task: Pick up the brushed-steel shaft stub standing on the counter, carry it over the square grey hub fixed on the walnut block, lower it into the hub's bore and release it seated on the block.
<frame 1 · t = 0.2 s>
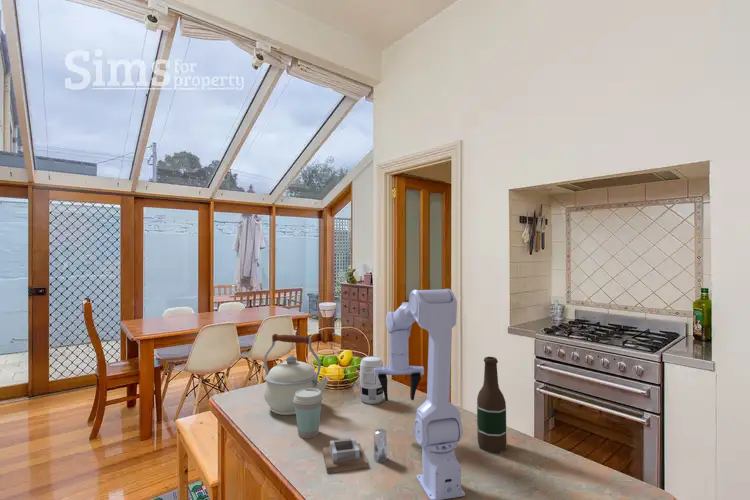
hand: (399, 399, 113), 10 cm above the kitchen island, fingers open, 7 cm apart
beer bottle: (491, 447, 105), on the kitchen island
coffee cup: (308, 434, 113), on the kitchen island
supplement can: (371, 400, 139), on the kitchen island
shaft: (380, 459, 98), on the kitchen island
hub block: (344, 459, 98), on the kitchen island
kettle: (295, 408, 133), on the kitchen island
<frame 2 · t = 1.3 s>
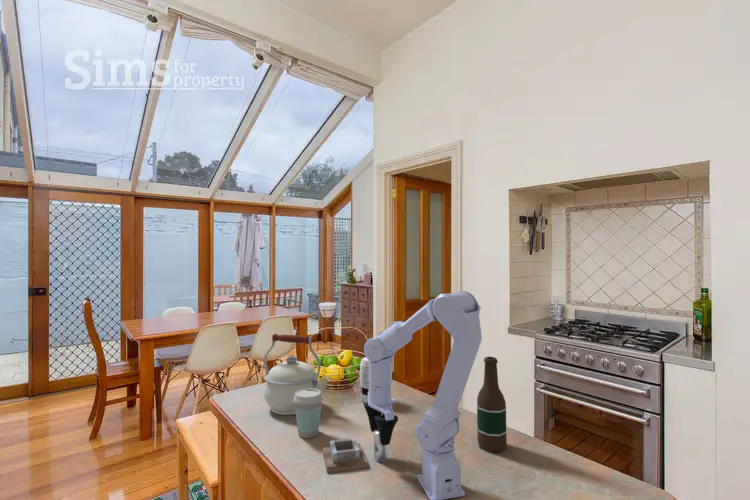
hand: (380, 437, 99), 5 cm above the kitchen island, fingers open, 7 cm apart
nothing on the kitchen island moved.
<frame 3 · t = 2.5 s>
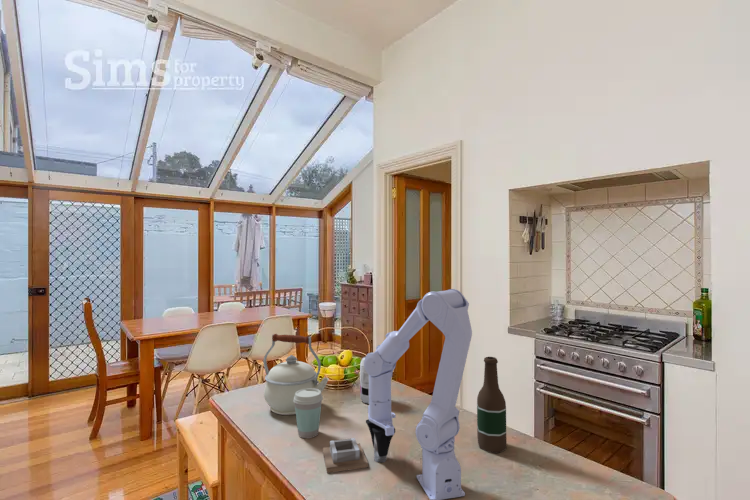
hand: (380, 451, 98), 2 cm above the kitchen island, fingers closed on shaft, 3 cm apart
shaft: (380, 459, 98), on the kitchen island, touching gripper
everything else where it was.
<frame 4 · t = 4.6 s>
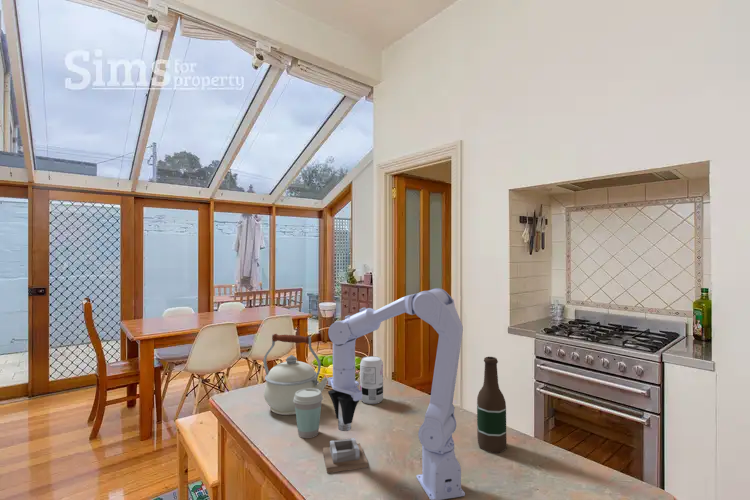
hand: (344, 420, 98), 10 cm above the kitchen island, fingers closed on shaft, 3 cm apart
shaft: (344, 428, 98), point 8 cm above the kitchen island, touching gripper
everything else where it was.
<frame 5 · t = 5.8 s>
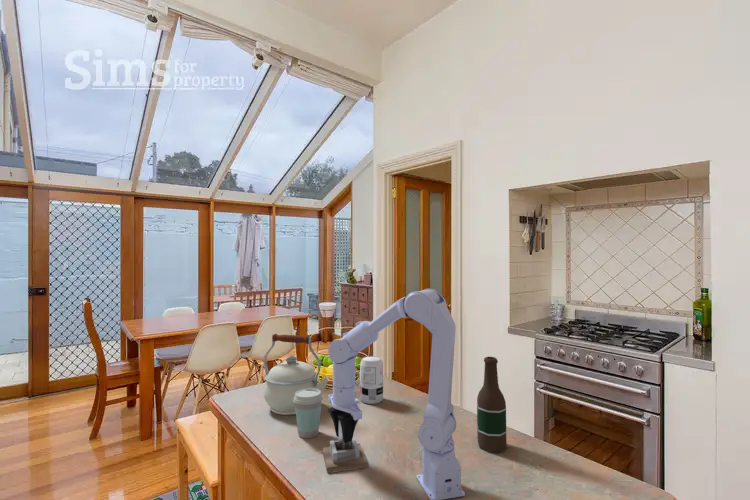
hand: (344, 438, 98), 5 cm above the kitchen island, fingers closed on shaft, 3 cm apart
shaft: (344, 446, 98), point 3 cm above the kitchen island, touching gripper
everything else where it was.
when the fingers open (4 cm above the kitchen island, at t = 6.9 s): shaft stays where it is, resting on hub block.
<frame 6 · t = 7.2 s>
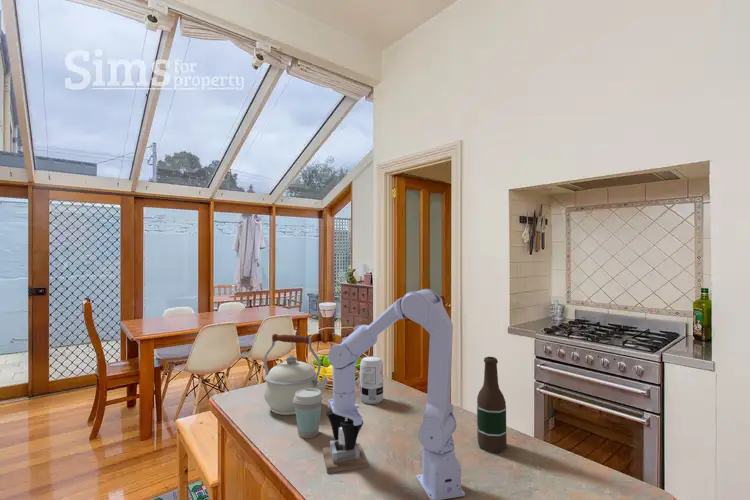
hand: (344, 443, 98), 4 cm above the kitchen island, fingers open, 6 cm apart
shaft: (344, 454, 98), point 1 cm above the kitchen island, touching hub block
everything else where it was.
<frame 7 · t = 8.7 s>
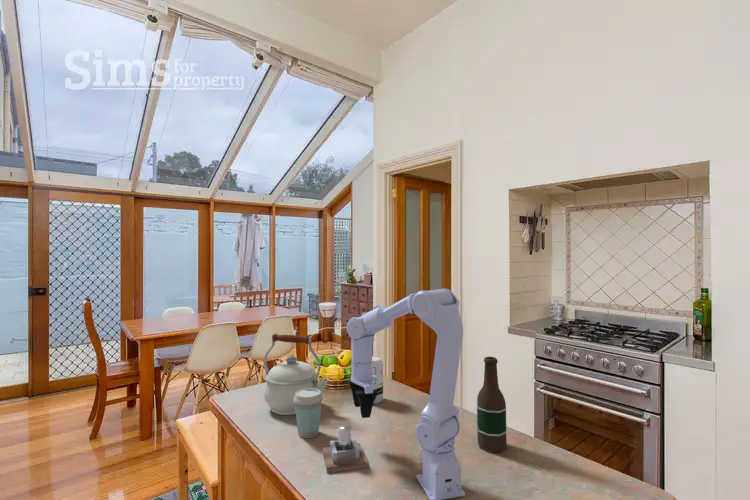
hand: (362, 411, 104), 10 cm above the kitchen island, fingers open, 7 cm apart
nothing on the kitchen island moved.
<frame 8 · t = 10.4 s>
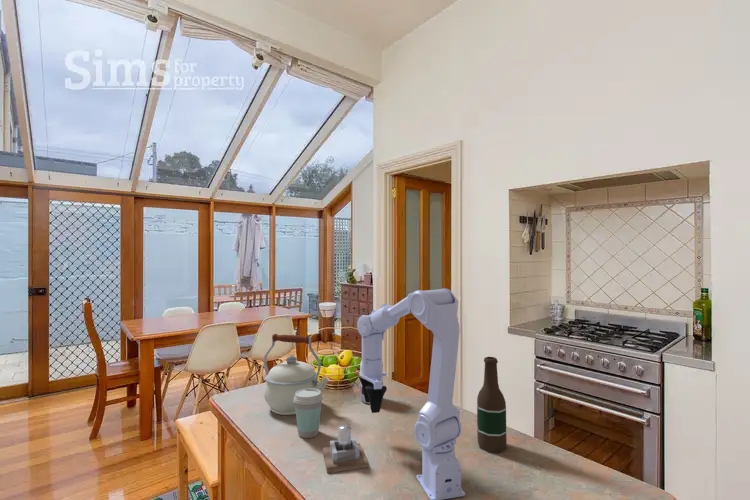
hand: (372, 406, 107), 10 cm above the kitchen island, fingers open, 7 cm apart
nothing on the kitchen island moved.
at the end: shaft 0.1 cm off-centre on the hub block, point 1.2 cm above the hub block's base; the gripper is holding nothing; shaft tilted 1° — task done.
